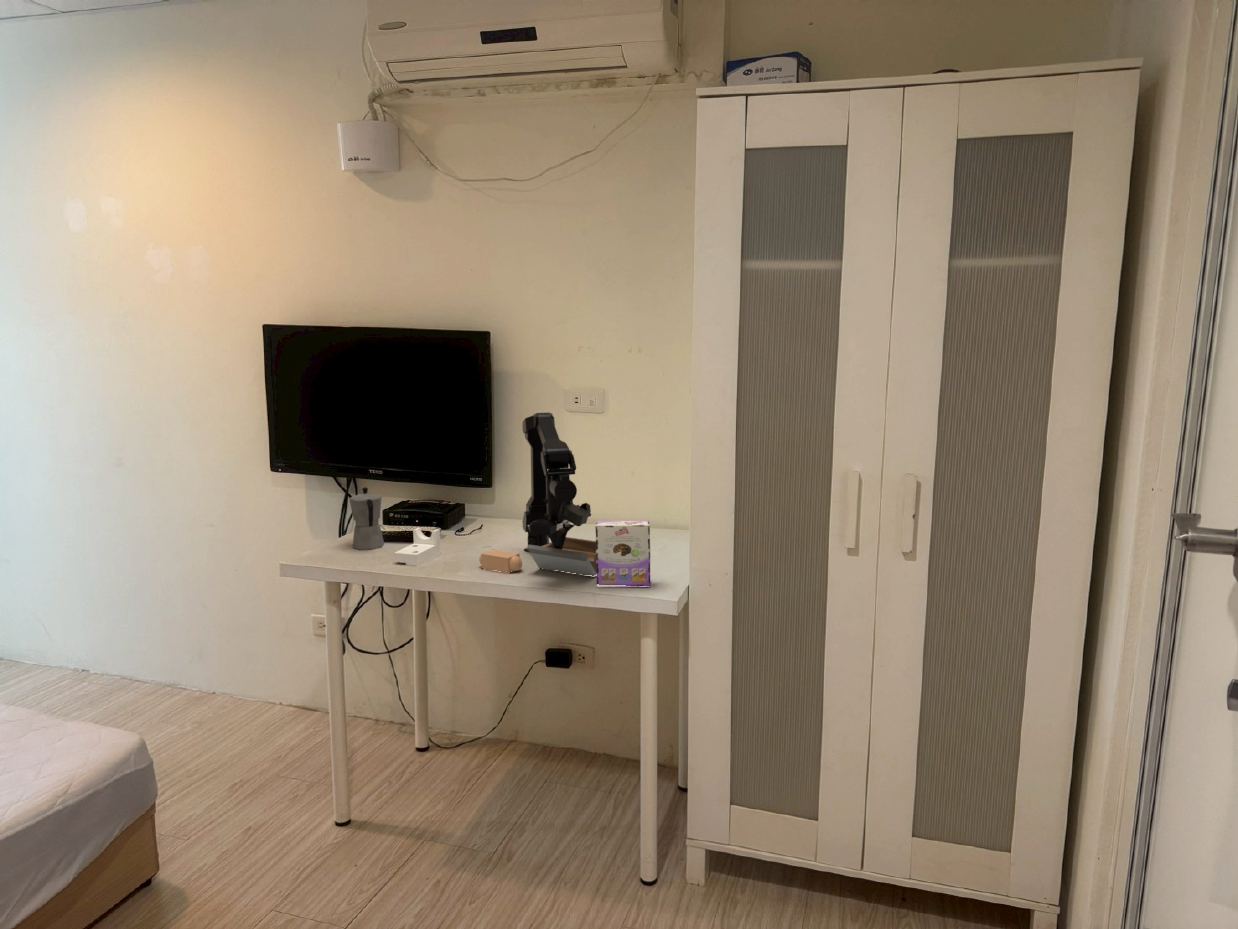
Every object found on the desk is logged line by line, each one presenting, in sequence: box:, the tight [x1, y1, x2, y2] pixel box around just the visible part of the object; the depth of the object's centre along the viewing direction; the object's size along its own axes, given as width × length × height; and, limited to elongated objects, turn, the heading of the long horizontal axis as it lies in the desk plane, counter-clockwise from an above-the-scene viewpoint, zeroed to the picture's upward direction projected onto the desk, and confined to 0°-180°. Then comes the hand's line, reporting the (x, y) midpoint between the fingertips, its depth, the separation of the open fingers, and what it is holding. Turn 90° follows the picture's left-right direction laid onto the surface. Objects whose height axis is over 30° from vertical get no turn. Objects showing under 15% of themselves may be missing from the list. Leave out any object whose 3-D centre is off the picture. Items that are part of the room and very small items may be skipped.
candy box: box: [594, 519, 651, 587], centre depth 224 cm, size 14×6×16 cm, turn 88°
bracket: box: [393, 527, 442, 566], centre depth 249 cm, size 13×7×8 cm, turn 162°
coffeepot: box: [349, 486, 385, 551], centre depth 261 cm, size 15×9×18 cm, turn 26°
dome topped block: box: [478, 549, 523, 574], centre depth 239 cm, size 5×13×4 cm, turn 61°
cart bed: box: [542, 536, 596, 572], centre depth 239 cm, size 8×18×7 cm, turn 61°
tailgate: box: [526, 544, 596, 576], centre depth 232 cm, size 1×18×9 cm
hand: (559, 552), depth 231 cm, fingers closed
